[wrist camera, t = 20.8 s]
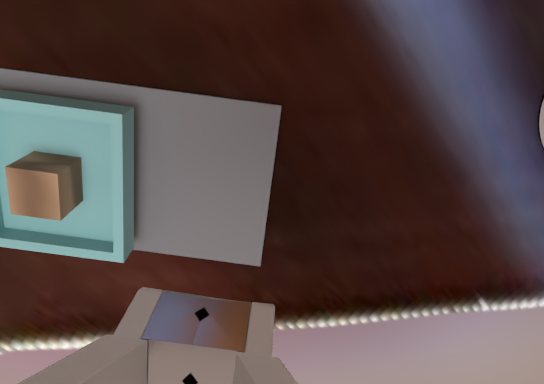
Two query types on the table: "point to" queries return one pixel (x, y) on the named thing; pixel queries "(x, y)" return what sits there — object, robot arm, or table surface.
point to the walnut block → (44, 185)
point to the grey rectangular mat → (187, 164)
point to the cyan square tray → (95, 174)
